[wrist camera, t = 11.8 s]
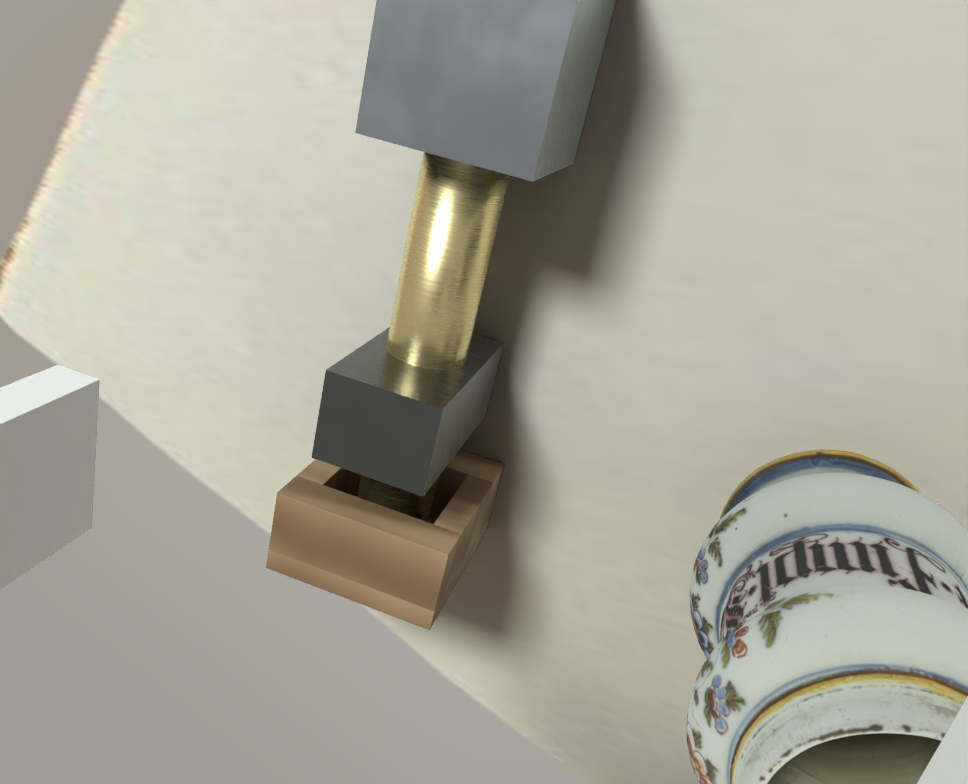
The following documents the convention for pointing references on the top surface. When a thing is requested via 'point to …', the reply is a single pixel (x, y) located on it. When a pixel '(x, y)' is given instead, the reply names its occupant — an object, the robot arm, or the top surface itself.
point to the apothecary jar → (827, 627)
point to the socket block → (382, 537)
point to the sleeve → (484, 79)
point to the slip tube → (421, 349)
